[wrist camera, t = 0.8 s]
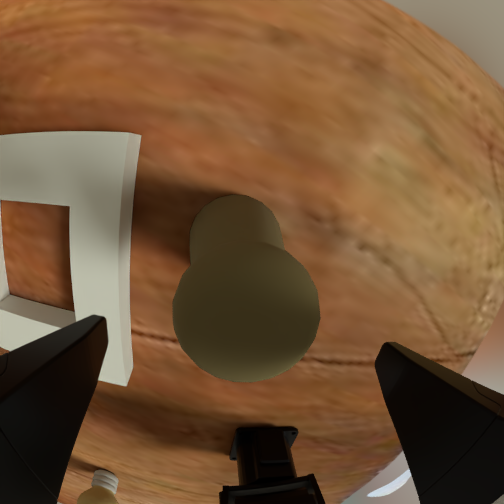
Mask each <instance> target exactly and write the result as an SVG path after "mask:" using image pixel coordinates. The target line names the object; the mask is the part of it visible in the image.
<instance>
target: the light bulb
mask: <svg viewBox="0 0 504 504" xmlns="http://www.w3.org/2000/svg"><path fill="white" fill-rule="evenodd" d="M117 484H118V479H117V477H116V476H115V475H114V474H112V473H110V472H108V471H105V470H96V471H95V472H94V476H93V481H92V483H91V485H92V488H90V489H88V490H86V491H85V492H83V493H82V494H81V495H80V496H79V498H78V500H77V504H118V502H117V500H116V498H115V497H114V494H116V489H117Z"/></svg>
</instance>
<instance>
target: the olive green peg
mask: <svg viewBox="0 0 504 504" xmlns="http://www.w3.org/2000/svg"><path fill="white" fill-rule="evenodd" d="M189 246H190V262H191V266H190V267H189V268H188V269H187V270H186V271H185V273H184V274H183V275H182V278H181V280H180V283H179V286H178V288H177V291H176V294H175V297H174V299H173V325H174V330H175V333H176V335H177V338H178V340H179V343H180V345H181V348H182V349H183V350H184V351H185V352H186V354H187V355H188V356H189V357H190V358H191V359H192V360H193V361H194V362H195V363H196V364H197V365H198V366H199V367H200V368H201V369H203V370H205V371H206V372H208V373H210V374H211V375H213V376H215V377H218V378H221V379H225V380H229V381H232V382H256V381H261V380H265V379H270V378H273V377H275V376H277V375H279V374H281V373H283V372H285V371H287V370H289V369H290V368H291V367H292V366H294V365H295V364H296V363H297V362H298V361H300V360H301V359H302V358H303V356H304V355H305V353H306V352H307V350H308V349H309V347H310V346H311V344H312V343H313V341H314V339H315V337H316V333H317V329H318V326H319V322H320V309H319V300H318V292H317V289H316V287H315V285H314V283H313V281H312V279H311V277H310V275H309V273H308V272H307V270H306V269H305V268H304V266H303V265H302V264H301V263H300V262H298V261H297V260H296V259H295V258H294V257H293V256H292V255H291V254H289V253H288V252H287V251H285V248H284V244H283V240H282V235H281V231H280V227H279V223H278V222H277V220H276V218H275V216H274V214H273V213H272V211H271V210H270V209H269V208H267V207H266V206H265V205H264V204H263V203H262V202H260V201H258V200H256V199H253V198H251V197H249V196H243V195H229V196H224V197H220V198H217V199H215V200H214V201H212V202H210V203H209V204H207V205H205V206H204V207H203V209H202V210H201V211H200V212H199V213H198V214H197V216H196V217H195V219H194V222H193V224H192V227H191V229H190V242H189Z"/></svg>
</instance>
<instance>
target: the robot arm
mask: <svg viewBox="0 0 504 504" xmlns="http://www.w3.org/2000/svg"><path fill="white" fill-rule="evenodd" d="M108 341H109V340H108V329H107V320H106V318H105V317H104V316H100V315H95V314H93V315H90V316H88V317H86V318H84V319H81V320H79V321H77V322H75V323H72V324H70V325H68V326H66V327H63V328H61V329H59V330H57V331H54V332H52V333H50V334H48V335H45V336H43V337H41V338H39V339H36V340H34V341H32V342H30V343H27V344H25V345H23V346H21V347H19V348H16V349H14V350H12V351H10V352H9V353H5V354H3V355H1V356H0V504H57V499H58V497H59V493H60V489H61V486H62V482H63V479H64V475H65V472H66V469H67V466H68V462H69V459H70V456H71V453H72V450H73V447H74V444H75V441H76V438H77V435H78V433H79V430H80V427H81V424H82V422H83V419H84V416H85V414H86V411H87V408H88V406H89V403H90V401H91V398H92V396H93V393H94V391H95V388H96V385H97V382H98V378H99V375H100V371H101V368H102V364H103V361H104V357H105V354H106V351H107V348H108ZM375 369H376V373H377V376H378V380H379V383H380V386H381V390H382V393H383V397H384V400H385V403H386V406H387V409H388V411H389V414H390V416H391V419H392V421H393V424H394V427H395V429H396V432H397V435H398V438H399V440H400V443H401V446H402V449H403V451H404V454H405V457H406V460H407V463H408V466H409V469H410V472H411V475H412V478H413V481H414V484H415V487H416V490H417V494H418V496H419V501H420V504H504V395H503V394H501V393H498V392H496V391H494V390H491V389H489V388H487V387H485V386H483V385H481V384H478V383H476V382H474V381H471V380H470V379H468V378H466V377H464V376H462V375H460V374H458V373H456V372H454V371H452V370H450V369H448V368H446V367H444V366H442V365H440V364H438V363H436V362H434V361H432V360H430V359H428V358H426V357H424V356H422V355H420V354H418V353H416V352H414V351H412V350H410V349H408V348H406V347H404V346H402V345H400V344H398V343H396V342H385V343H384V344H383V345H382V347H381V349H380V352H379V354H378V356H377V358H376V360H375ZM297 435H298V429H297V428H238V429H236V432H235V436H234V440H233V444H232V447H231V451H230V455H229V457H230V460H236V461H237V465H238V477H239V486H229V485H228V486H223V491H222V492H219V499H220V504H325V501H324V499H323V496H322V494H321V491H320V489H319V486H318V484H317V481H316V479H315V476H314V474H308V475H307V476H302V477H297V474H296V470H295V466H294V462H293V458H292V454H291V450H290V448H291V446H292V444H293V442H294V440H295V438H296V437H297Z"/></svg>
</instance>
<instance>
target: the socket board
mask: <svg viewBox="0 0 504 504" xmlns="http://www.w3.org/2000/svg"><path fill="white" fill-rule="evenodd" d="M140 142H141V135H137V134H133V133H129V132H102V131H60V132H35V133H20V134H9V135H0V347H2V348H4V349H6V350H9V351H12V350H14V349H16V348H19V347H21V346H23V345H25V344H27V343H30V342H32V341H34V340H36V339H39V338H41V337H43V336H45V335H48V334H50V333H52V332H54V331H57V330H59V329H61V328H63V327H66V326H68V325H70V324H72V323H75V322H77V321H79V320H81V319H84V318H86V317H88V316H90V315H93V314H95V315H100V316H104V317H105V318H106V320H107V329H108V340H109V341H108V348H107V351H106V354H105V357H104V361H103V364H102V368H101V371H100V375H99V378H98V380H100V381H104V382H109V383H113V384H117V385H122V386H127V383H128V381H129V378H130V375H131V372H132V369H133V357H132V343H131V324H130V244H131V225H132V211H133V199H134V189H135V179H136V171H137V163H138V155H139V148H140ZM1 200H10V201H21V202H32V203H43V204H53V205H63V206H70V263H71V278H72V290H73V300H74V308H75V312H73V311H69V310H65V309H61V308H57V307H53V306H49V305H45V304H41V303H38V302H34V301H30V300H27V299H23V298H20V297H17V296H13V295H10V293H9V288H8V282H7V275H6V268H5V261H4V252H3V241H2V227H1Z"/></svg>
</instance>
